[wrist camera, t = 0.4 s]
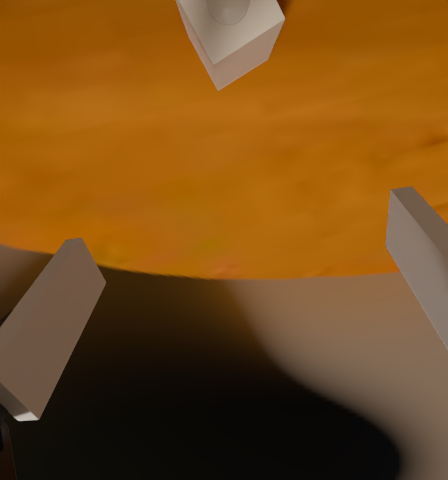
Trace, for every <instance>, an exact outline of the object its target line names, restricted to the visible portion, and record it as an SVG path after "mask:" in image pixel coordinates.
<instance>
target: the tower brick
mask: <svg viewBox="0 0 448 480" xmlns="http://www.w3.org/2000/svg"><path fill="white" fill-rule="evenodd" d="M176 3H177V5H178V8H179V11H180V14H181V17H182V20H183V22H184V25H185V28H186V31H187V34H188V37H189V38H190V40H191V42H192V44H193V46H194V48H195V50H196V51H197V53H198V55H199V57H200V59H201V61H202V63H203V64H204V66H205V68H206V70H207V72H208V74H209V75H210V77H211V79H212V81H213V83H214V85H215V87H216V88H217V90H218V91H219V90H221V89H222V88H224V87H225V86H227V85H229V84H230V83H232V82H233V81H235V80H236V79H238V78H240V77H241V76H243V75H244V74H246V73H248V72H249V71H251V70H252V69H254V68H255V67H257V66H259V65H260V64H262V63H263V62H265V61H267V60H268V58H269V56H270V53H271V51H272V49H273V46H274V44H275V42H276V39H277V37H278V34H279V32H280V30H281V27H282V25H283V23H284V20H285V17H284V15H283V13H282V11H281V9H280V6H279V4H278V2H277V0H176Z"/></svg>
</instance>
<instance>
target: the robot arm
mask: <svg viewBox="0 0 448 480" xmlns="http://www.w3.org/2000/svg"><path fill="white" fill-rule="evenodd" d="M386 248H387V249H388V251H389V253H390V254H391V256H392V258H393V259H394V261H395V263H396V265H397V266H398V268H399V270H400V271H401V273H402V275H403V276H404V278H405V280H406V281H407V283H408V285H409V286H410V288H411V290H412V291H413V293H414V295H415V296H416V298H417V300H418V301H419V303H420V305H421V306H422V308H423V310H424V311H425V313H426V315H427V316H428V318H429V320H430V321H431V323H432V325H433V326H434V328H435V330H436V332H437V333H438V335H439V336H440V338H441V340H442V342H443V343H444V345H445V347H446V348H447V350H448V225H447V223H446V222H445V221H444V220H443V219H442V218H441V217H440V216H439V215H438V214H437V213H436V212H435V211H434V210H433V209H432V207H431V206H430V205H429V204H428V203H427V202H426V201H425V200H424V199H423V198H422V197H421V196H420V195H419V194H418V193H417V192H416V190H415V189H414V188H413V187H412V186H411V187H405V188H398V189H392V190H391V191H390V202H389V213H388V224H387V236H386ZM105 284H106V281H105V280H104V278H103V276H102V274H101V272H100V271H99V269H98V267H97V265H96V263H95V261H94V260H93V258H92V256H91V254H90V252H89V250H88V249H87V247H86V245H85V243H84V241H83V240H82V238H76V239H69V240H66V241H65V242H64V243H63V245H62V246H61V247H60V249H59V250H58V251H57V253H56V254H55V255H54V257H53V258H52V259H51V261H50V262H49V263H48V265H47V266H46V267H45V269H44V270H43V271H42V273H41V274H40V275H39V276H38V278H37V279H36V280H35V282H34V283H33V284H32V286H31V287H30V288H29V290H28V291H27V292H26V294H25V295H24V296H23V298H22V299H21V300H20V302H19V303H18V304H17V306H16V307H15V308H14V310H12V311H10V312H9V313H8V314H7V315H6V316H5V317H3V318H2V319H1V320H0V480H17V478H16V472H15V466H14V460H13V454H12V448H11V442H10V437H9V430H8V427H7V425H6V423H4V422H3V420H4V418H5V416H6V414H7V413H8V412H9V413H10V414H11V415H12V416H13V417H15V418H16V419H17V420H18V421H25V420H39V418H40V416H41V414H42V412H43V410H44V408H45V406H46V404H47V402H48V400H49V398H50V396H51V394H52V392H53V390H54V388H55V386H56V384H57V382H58V380H59V378H60V376H61V373H62V371H63V369H64V367H65V365H66V363H67V361H68V359H69V357H70V355H71V353H72V351H73V349H74V347H75V345H76V343H77V341H78V339H79V337H80V335H81V332H82V331H83V329H84V327H85V325H86V323H87V321H88V319H89V317H90V315H91V312H92V310H93V308H94V306H95V304H96V302H97V300H98V298H99V296H100V294H101V292H102V290H103V288H104V286H105Z"/></svg>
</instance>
